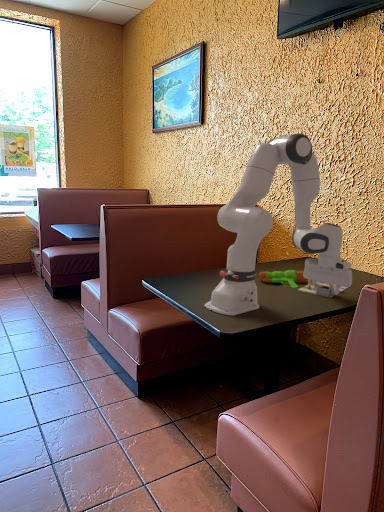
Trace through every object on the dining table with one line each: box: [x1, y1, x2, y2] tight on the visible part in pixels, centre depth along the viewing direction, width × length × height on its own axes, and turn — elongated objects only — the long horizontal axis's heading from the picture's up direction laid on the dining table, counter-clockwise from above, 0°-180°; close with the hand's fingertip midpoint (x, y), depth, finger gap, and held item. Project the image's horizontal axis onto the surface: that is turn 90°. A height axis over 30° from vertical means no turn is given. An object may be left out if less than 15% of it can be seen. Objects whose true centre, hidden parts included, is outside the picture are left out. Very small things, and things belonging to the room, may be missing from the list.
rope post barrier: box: [307, 279, 332, 289], centre depth 173 cm, size 16×9×6 cm, turn 139°
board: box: [297, 281, 348, 298], centre depth 173 cm, size 25×15×1 cm, turn 139°
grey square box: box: [315, 285, 334, 298], centre depth 163 cm, size 6×6×3 cm
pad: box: [332, 284, 352, 290], centre depth 177 cm, size 7×7×1 cm
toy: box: [258, 269, 312, 289], centre depth 178 cm, size 7×25×15 cm
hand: (325, 292), depth 163 cm, fingers open, 7 cm apart
